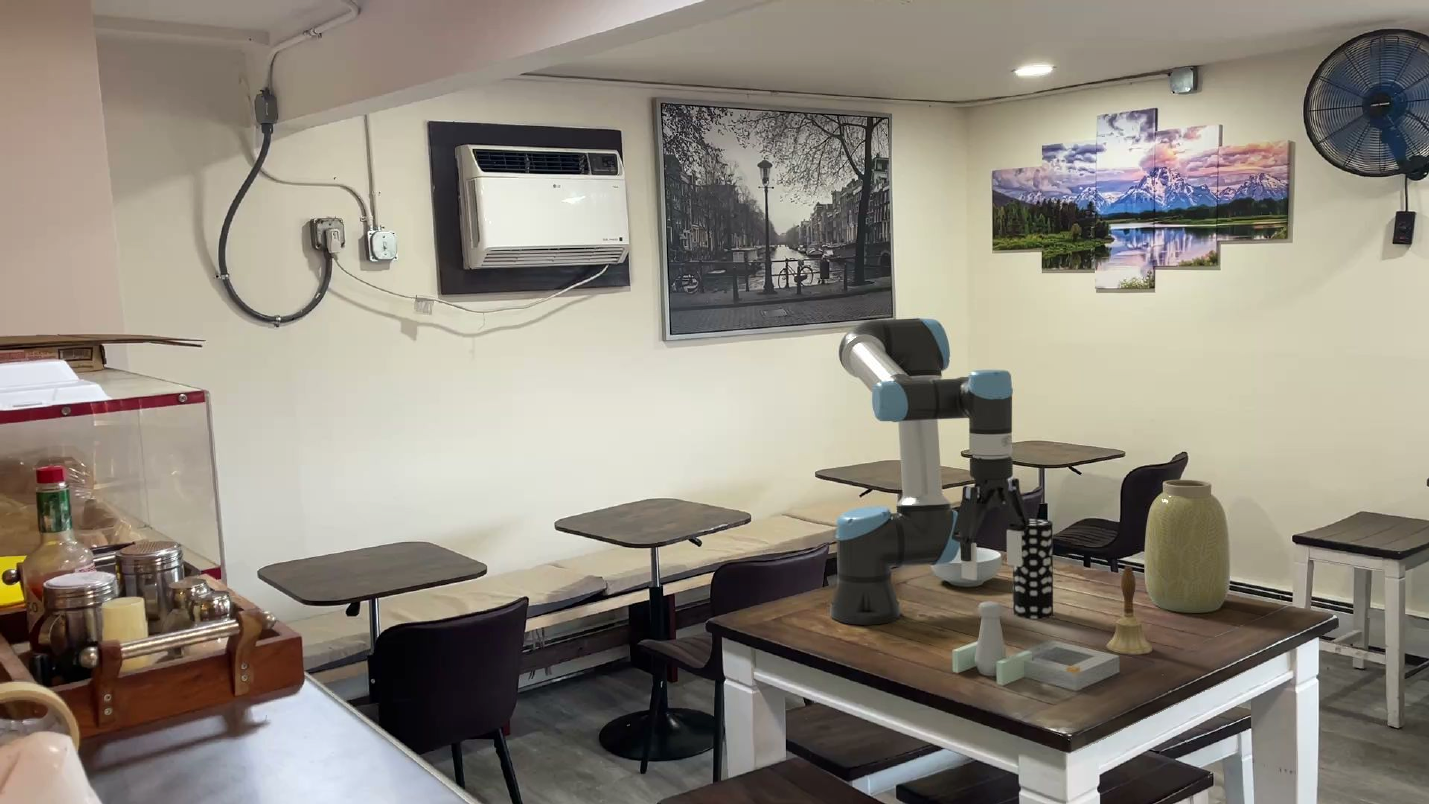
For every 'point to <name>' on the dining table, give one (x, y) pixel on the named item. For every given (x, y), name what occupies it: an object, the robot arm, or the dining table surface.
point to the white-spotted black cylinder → (1035, 572)
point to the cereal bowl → (985, 568)
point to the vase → (1187, 548)
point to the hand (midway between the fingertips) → (992, 572)
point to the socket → (1081, 661)
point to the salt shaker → (990, 639)
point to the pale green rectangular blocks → (1006, 668)
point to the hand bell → (1129, 623)
